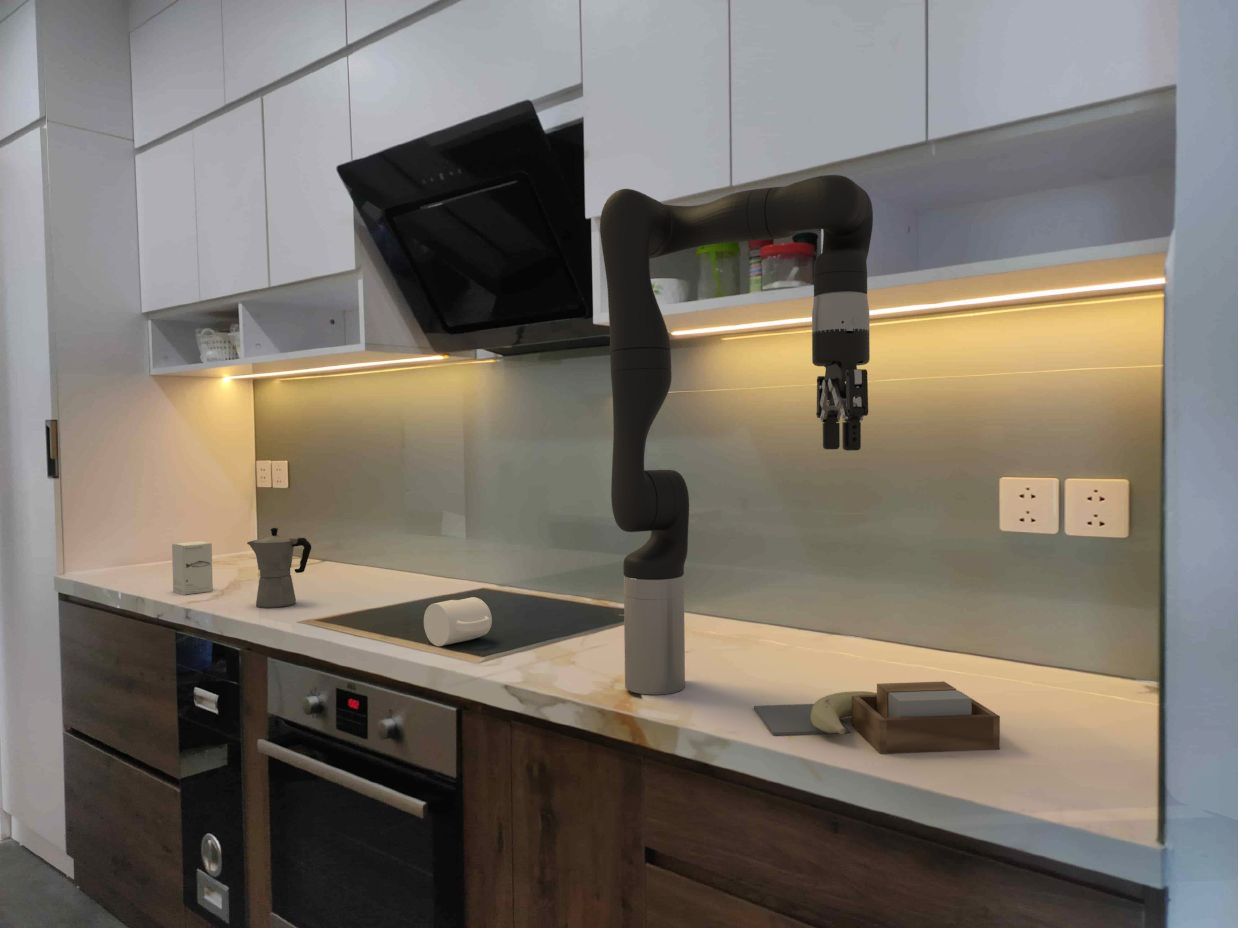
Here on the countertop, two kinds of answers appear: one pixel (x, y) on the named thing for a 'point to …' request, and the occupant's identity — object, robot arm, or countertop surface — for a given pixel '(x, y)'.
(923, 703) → the offcut grey
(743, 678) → the countertop surface
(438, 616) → the mug
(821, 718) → the fruit
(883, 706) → the offcut teak
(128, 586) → the countertop surface
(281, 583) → the coffeepot
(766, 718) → the mat
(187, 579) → the supplement box
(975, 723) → the wooden tray
